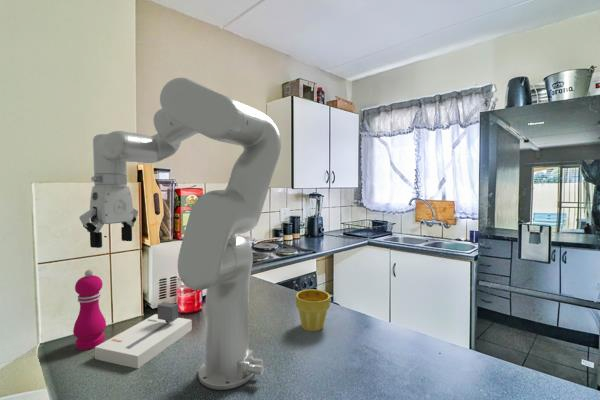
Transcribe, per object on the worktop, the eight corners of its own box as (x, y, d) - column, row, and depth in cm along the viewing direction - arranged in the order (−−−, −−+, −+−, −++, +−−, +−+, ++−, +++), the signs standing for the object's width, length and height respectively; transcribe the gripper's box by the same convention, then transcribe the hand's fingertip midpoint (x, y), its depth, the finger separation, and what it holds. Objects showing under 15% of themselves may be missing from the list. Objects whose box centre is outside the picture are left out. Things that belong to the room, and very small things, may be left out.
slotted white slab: (191, 329, 90) (191, 319, 90) (138, 368, 71) (137, 355, 71) (155, 323, 94) (155, 313, 93) (95, 359, 74) (94, 346, 74)
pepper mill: (90, 352, 77) (88, 275, 76) (66, 349, 79) (64, 273, 78) (112, 338, 84) (111, 267, 83) (90, 335, 86) (89, 265, 85)
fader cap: (178, 321, 88) (178, 304, 88) (172, 324, 85) (172, 307, 85) (163, 318, 89) (163, 302, 89) (157, 322, 87) (157, 305, 87)
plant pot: (324, 337, 86) (325, 303, 86) (290, 331, 90) (291, 298, 89) (333, 321, 96) (333, 291, 96) (301, 317, 99) (302, 287, 99)
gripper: (92, 180, 73) (94, 251, 74) (146, 181, 90) (147, 239, 90) (68, 180, 75) (70, 249, 76) (125, 181, 92) (127, 238, 92)
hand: (112, 243), depth 83 cm, fingers open, 9 cm apart
